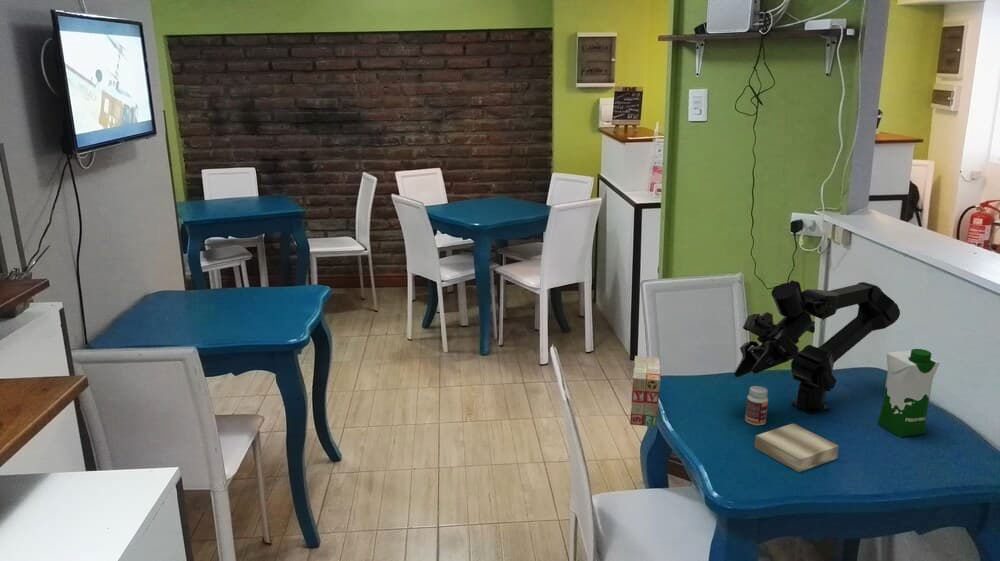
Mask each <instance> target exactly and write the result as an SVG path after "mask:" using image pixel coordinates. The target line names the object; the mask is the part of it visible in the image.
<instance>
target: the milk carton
mask: <svg viewBox="0 0 1000 561" xmlns="http://www.w3.org/2000/svg"><path fill="white" fill-rule="evenodd" d="M886 362H887V375H886V381H885V388H884V393H883V398H882V399H883V400H882V406H881V409H880V413H879V417H878V420H877V424H878V425H880V427H883V428H884V429H886V430H887V431H889V432H891V434H894V435H895V436H897V437H898V438H903V437H910V436H911V437H912V436H918V435H924V434H926V426H927V425H926V424H927V415H928V407H929V401H930V396H931V391H932V385H933V379H934V378H935V375H936V372H937V370H938V369H939V366H940V361H939V360H936V359H934V358H933V357H932V352H930V350H927V349H922V348H913V349H909V350H903V351H901V350H900V351H892V352H886Z"/></svg>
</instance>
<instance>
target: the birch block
mask: <svg viewBox="0 0 1000 561" xmlns="http://www.w3.org/2000/svg"><path fill="white" fill-rule="evenodd" d="M754 448H755V449H757V450H758V451H760V452H761V453H763V454H765V455H766V456H769V457H771V458H772V459H774V460H776V461H777V462H779V463H781V464H783V465H784V466H787V467H789V468H790V469H792V470H794V471H795V472H797V473H802V472H804V471H806V470H809V469H812V468H814V467H815V468H816V467H818V466H821V465H823V464H826V463H828V462H831V461H834V460H837V459H838V455H839V454H838V453H839V448H840V446H839V445H838V444H836V443H834V442H832V441H830V440H828V439H826V438H823V437H822V436H820V435H818V434H816V433H814V432H812V431H810V430H808V429H806V428H803V427H802V426H800V425H798V424H796V423H790V424H787V425H784V426H780V427H777V428H774V429H771V430H769V431H765V432H762V433H759V434H755V440H754Z"/></svg>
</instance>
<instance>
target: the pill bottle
mask: <svg viewBox="0 0 1000 561" xmlns="http://www.w3.org/2000/svg"><path fill="white" fill-rule="evenodd" d="M768 391H769V390H768V389H767V388H766V387H764V386H761V385H753V386H750V387H749V392H748V393H749V394H748V395H747V396H746V397H747V398H746V406H745V415H744V416H745V417H744V421H745V422H746V423H747V424H750V425H752V426H757V427H758V426H763V425H765V424H766V422H767V417H768V416H767V415H768V407H769V397H768Z"/></svg>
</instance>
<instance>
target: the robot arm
mask: <svg viewBox="0 0 1000 561" xmlns="http://www.w3.org/2000/svg"><path fill="white" fill-rule="evenodd" d="M801 287H802V286H801V284H800V281H795V280H792V279H791V280H790V281H789V282H784V283H781V284H779V285H776V286H774V288H772V290H771V293H770V294H771V297H772V300H773V301H774V304H775V307H776V309H777V311H778V313H779V315H781V316H782V318H781V319H780V320H779V321H778V322H777V323H776V324H774V317H773V314H772V313H770V312H769V311H767V312H764V313H762V314H761V315H760V313H753V314H751V315H748V316H747V317H746V320H745V322H744V323H743V327H742V328H743V330H744V331H748V332H750V333H752V334H753V335H754V336H757V338H756V340H757V341H758V342H759V343H761V344H759V343H758V342H757V341H747V342H744V343H743V344H742V345H741V346H740V347H739V350H740V352H741V354H742V358H741V360H740V362H739V364H738V366H737V367H736V369H735V370H734V373H733V375H734V377H735V378H740V377H742V376H744V375H746V374H747V375H748V373H751V372H752V373H753V374H758V373H760V372H763V371H766V370H769V369H771V368H774V367H776V366H779V365H781V364H784V363H787V362H789V361H791V362H790V368H791V374H792V380H794V381H797V382H799V385H798V389H797V395H796V400H795V401H792V402H791V405H792V406H795V407H796V408H798V409H801V410H803V411H804V412H807V413H809V414H811V415H814V414H817V413H820V412H823V411H827V410H830V405H827V404H826V403H825V402H826V396H827V394H826V393H827V392H831V391H832V389H834V388H835V386H836V383H837V378H835V376H834V374H833V370H834V366H835V365H834V364H835V363H836V362H837V361H838V360H840V359H841V358H842V357H843V356H844V355H845V354H847V352H849V351H850V350H851V349H853V347H855V346H856V345H857V344H859V343H860V342H861V341H862V340H863V339H864V338H866V337H867V336H868V335H869V334H870V333H871V332H874V331H880V330H883V329H887V328H888V327H889V326H892V325H893V324H895V323H896V322H897V321H898V319H899V318H900V315H901V310H900V308H899V305H898V303H897V302H895V301H894V299H892V298H891V297H890V296H888V294H886V293H885V292H884V291H883V290H882V289H881V288H880V287H879V286H878V285H876V284H872V283H870V282H866V281H862V282H861V281H860V282H858V283H857V284H853V285H849V286H843V287H840V288H836V289H830V290H825V289H824V290H823V289H816V288H815V289H812V288H811V289H810V288H808V289H804V290H803V291H802V288H801ZM855 305H857V306H858V310H857V316H855V318H853V319H852V320H850V322H847V324H846V325H845V326H843V327H842V328H840V330H838V331H837V332H836V333H835V334H833V335H832V336H831V337H830V338H829V339H828V340H826V341H825V342H824V343H822V344H821V345H820V346H818V347H817V346H814V345H811V344H807V345H806V346H804V348H803V349H802V350H800V348H799V346H798V345H797V344H798V343H799V342H800V340H799V339H800V338H801V337H802V336H803V335H804V334H805V333H806V332H808V333H811V334H814V333H815V330H816V326H815V324H816V321H814V320H813V319H812V317H815V318H818V319H821V320H826V319H827V318H830V317H832V316H834V315H835V314H836V313H837V310H839V309H843V308H847V307H851V306H855ZM811 316H812V317H811ZM799 350H800V351H799Z"/></svg>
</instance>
